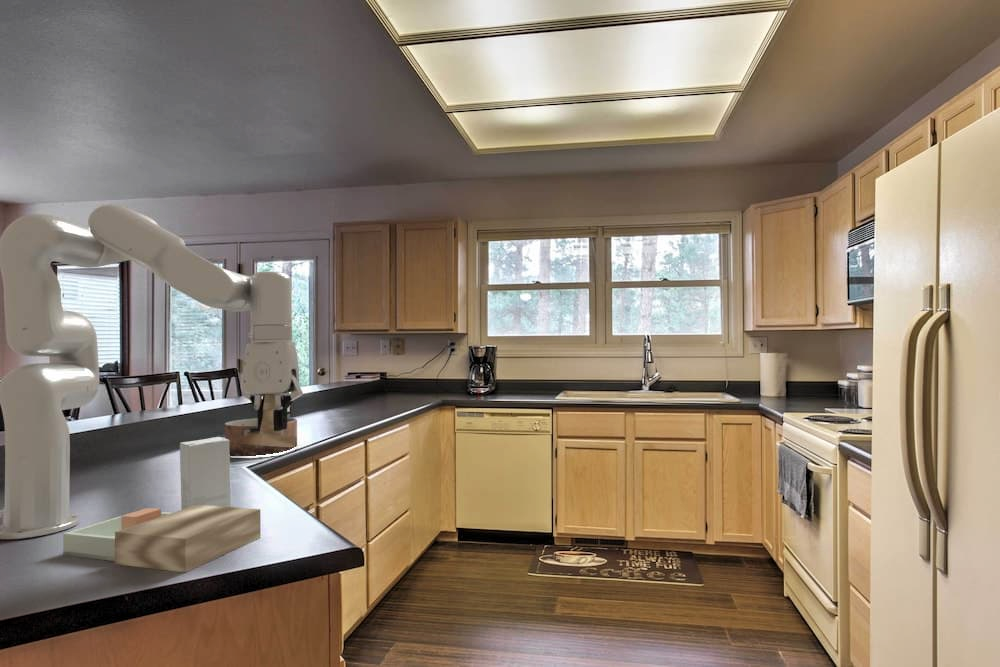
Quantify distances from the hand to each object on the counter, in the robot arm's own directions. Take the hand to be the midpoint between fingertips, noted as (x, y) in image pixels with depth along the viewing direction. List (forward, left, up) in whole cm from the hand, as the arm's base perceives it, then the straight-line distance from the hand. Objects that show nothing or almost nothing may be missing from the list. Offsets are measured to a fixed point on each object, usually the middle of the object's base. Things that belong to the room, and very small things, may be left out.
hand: (272, 428), depth 108 cm
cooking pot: (-57, +66, -18) cm, 89 cm away
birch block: (-3, -16, -18) cm, 24 cm away
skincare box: (-20, +4, -18) cm, 28 cm away
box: (-17, -16, -18) cm, 29 cm away
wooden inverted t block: (0, -1, -3) cm, 3 cm away
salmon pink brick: (-12, -16, -15) cm, 25 cm away
